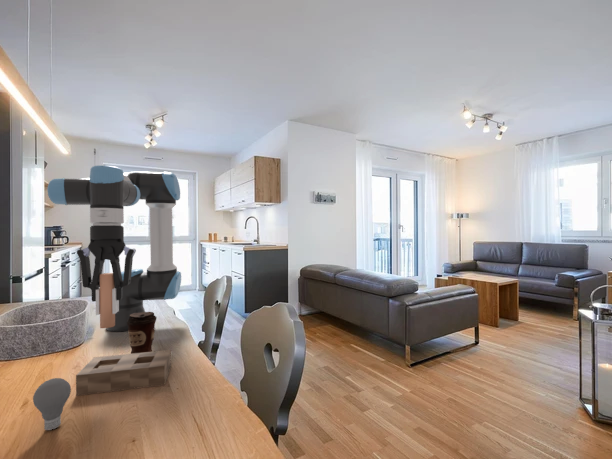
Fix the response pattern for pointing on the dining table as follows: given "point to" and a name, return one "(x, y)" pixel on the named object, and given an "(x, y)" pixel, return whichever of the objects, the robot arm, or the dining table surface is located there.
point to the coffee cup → (141, 331)
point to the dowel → (106, 300)
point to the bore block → (124, 372)
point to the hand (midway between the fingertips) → (107, 312)
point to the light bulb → (52, 401)
